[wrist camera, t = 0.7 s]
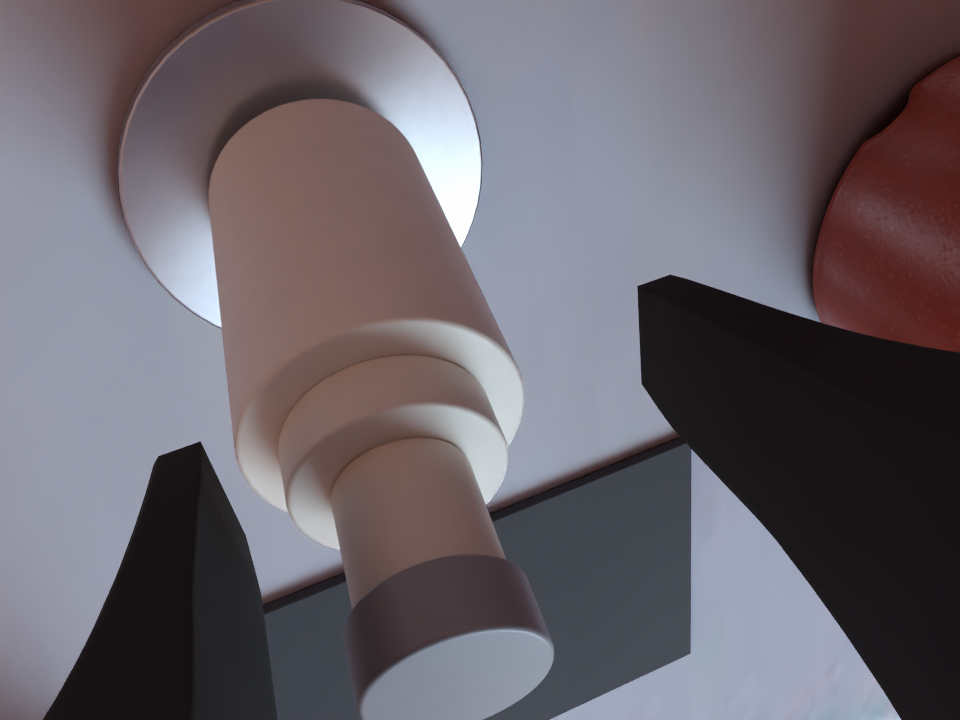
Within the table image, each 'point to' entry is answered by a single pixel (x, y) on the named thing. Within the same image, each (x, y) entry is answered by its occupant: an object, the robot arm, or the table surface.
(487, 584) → the bottle
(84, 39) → the table surface
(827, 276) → the flower pot
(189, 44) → the coaster
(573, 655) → the mat
